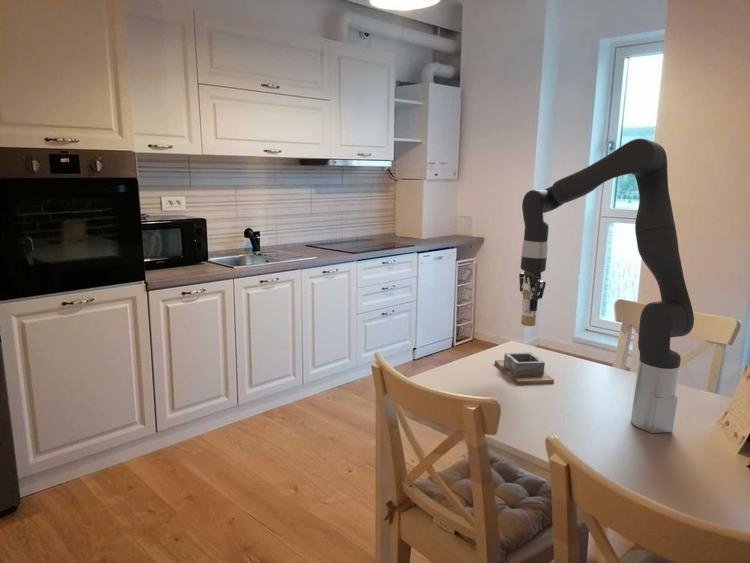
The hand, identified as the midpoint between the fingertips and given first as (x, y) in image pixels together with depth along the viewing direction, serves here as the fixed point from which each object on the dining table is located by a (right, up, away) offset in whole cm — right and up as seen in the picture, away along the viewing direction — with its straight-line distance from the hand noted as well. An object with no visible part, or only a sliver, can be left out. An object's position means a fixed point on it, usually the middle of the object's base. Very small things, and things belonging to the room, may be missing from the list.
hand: (529, 308), depth 171 cm
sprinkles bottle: (0, -5, +1) cm, 5 cm away
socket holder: (-1, -21, +5) cm, 22 cm away
